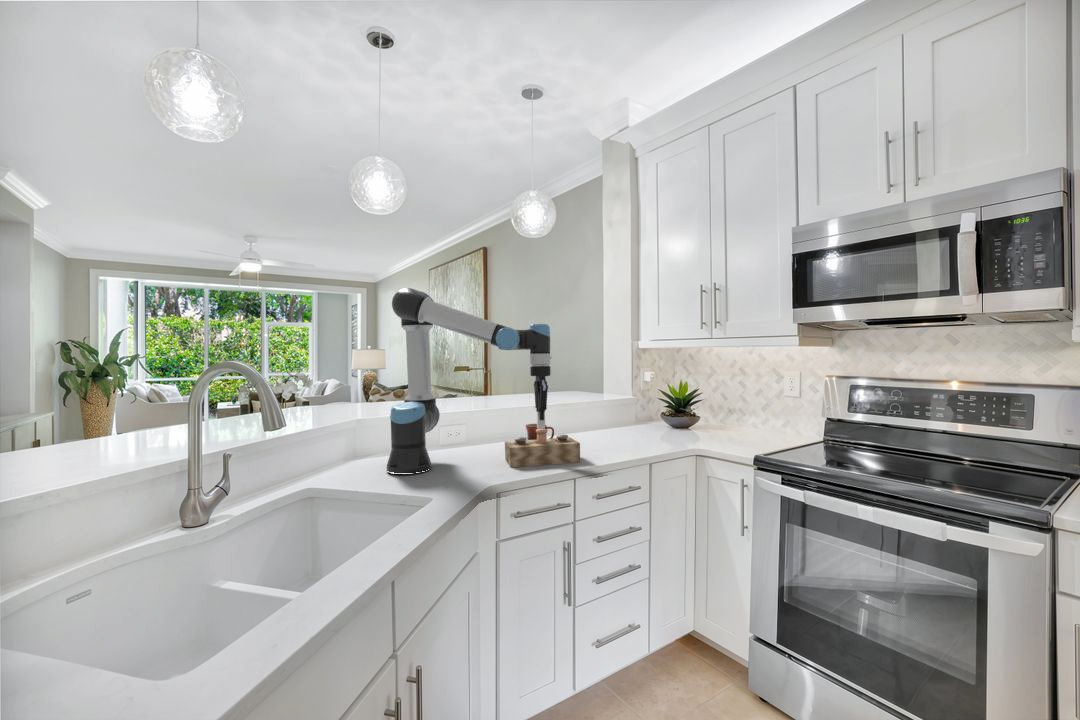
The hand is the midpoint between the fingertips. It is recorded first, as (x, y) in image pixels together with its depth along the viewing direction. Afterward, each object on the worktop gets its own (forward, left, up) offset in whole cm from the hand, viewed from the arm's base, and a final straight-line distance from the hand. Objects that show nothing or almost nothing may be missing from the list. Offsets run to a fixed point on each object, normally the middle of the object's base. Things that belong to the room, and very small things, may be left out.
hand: (541, 428), depth 175 cm
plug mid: (0, 0, -9) cm, 9 cm away
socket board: (0, 0, -12) cm, 12 cm away
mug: (+4, +20, -12) cm, 24 cm away
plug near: (-8, 0, -12) cm, 14 cm away
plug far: (+8, 0, -12) cm, 14 cm away
